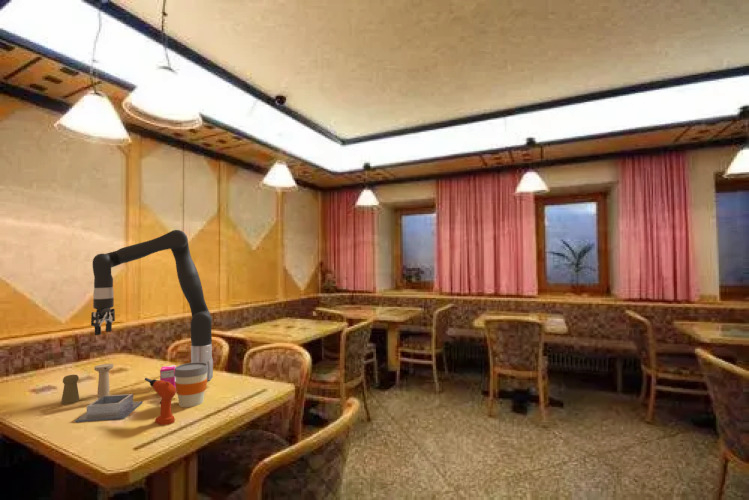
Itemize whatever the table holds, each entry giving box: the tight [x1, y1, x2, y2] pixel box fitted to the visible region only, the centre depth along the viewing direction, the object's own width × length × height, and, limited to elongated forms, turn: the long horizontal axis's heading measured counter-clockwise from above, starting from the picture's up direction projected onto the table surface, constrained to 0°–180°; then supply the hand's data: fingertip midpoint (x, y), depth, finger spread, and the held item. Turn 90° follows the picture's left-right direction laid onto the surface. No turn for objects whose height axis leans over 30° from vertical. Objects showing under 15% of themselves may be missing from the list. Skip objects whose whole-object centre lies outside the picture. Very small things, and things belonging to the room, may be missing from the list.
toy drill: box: [144, 377, 177, 426], centre depth 138 cm, size 5×19×15 cm, turn 59°
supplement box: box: [159, 364, 177, 388], centre depth 167 cm, size 6×6×12 cm
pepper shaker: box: [60, 374, 80, 406], centre depth 157 cm, size 6×6×11 cm
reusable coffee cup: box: [174, 362, 208, 408], centre depth 154 cm, size 12×13×15 cm
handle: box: [93, 363, 114, 399], centre depth 157 cm, size 5×6×15 cm
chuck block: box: [74, 393, 144, 423], centre depth 145 cm, size 16×16×5 cm
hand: (103, 333), depth 170 cm, fingers open, 8 cm apart
